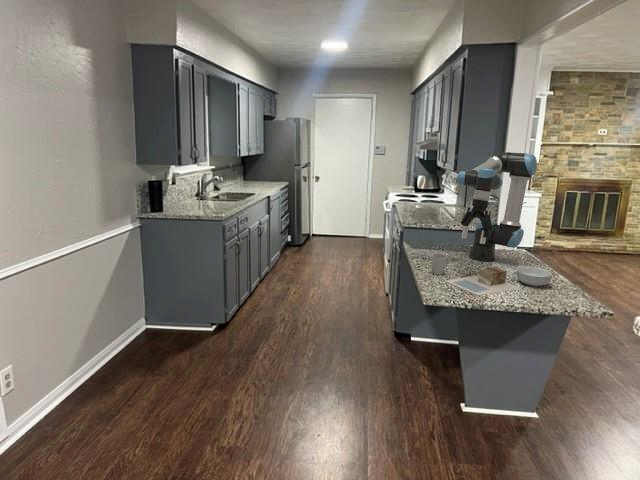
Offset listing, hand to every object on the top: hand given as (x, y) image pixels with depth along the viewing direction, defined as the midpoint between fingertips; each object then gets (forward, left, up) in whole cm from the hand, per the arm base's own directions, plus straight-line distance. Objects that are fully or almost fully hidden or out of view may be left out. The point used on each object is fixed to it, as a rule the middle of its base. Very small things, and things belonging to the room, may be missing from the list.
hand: (472, 241), depth 227 cm
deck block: (-8, +9, -20) cm, 23 cm away
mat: (-1, +9, -21) cm, 22 cm away
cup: (+8, -13, -21) cm, 26 cm away
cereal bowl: (-28, +18, -21) cm, 39 cm away
